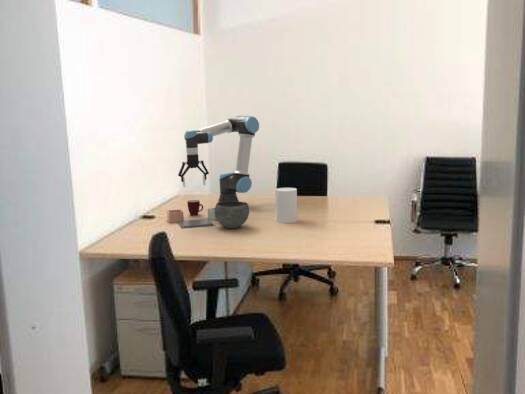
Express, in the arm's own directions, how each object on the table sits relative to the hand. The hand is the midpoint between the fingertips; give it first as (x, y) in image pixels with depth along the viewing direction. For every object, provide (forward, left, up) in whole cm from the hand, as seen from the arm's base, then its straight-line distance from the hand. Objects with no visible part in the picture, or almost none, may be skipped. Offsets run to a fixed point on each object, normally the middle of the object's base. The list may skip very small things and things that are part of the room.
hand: (194, 185), depth 385 cm
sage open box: (-10, +18, -20) cm, 29 cm away
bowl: (-14, +43, -20) cm, 50 cm away
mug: (0, 0, -20) cm, 20 cm away
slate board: (+6, +26, -20) cm, 33 cm away
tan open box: (+16, +14, -20) cm, 29 cm away
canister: (-50, +39, -20) cm, 67 cm away
